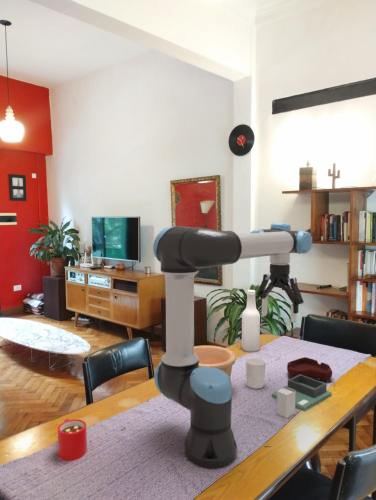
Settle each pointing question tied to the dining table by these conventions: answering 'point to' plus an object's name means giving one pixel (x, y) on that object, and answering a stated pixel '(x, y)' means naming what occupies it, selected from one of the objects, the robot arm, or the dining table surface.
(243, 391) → the dining table surface
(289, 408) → the plug
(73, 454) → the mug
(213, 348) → the pottery
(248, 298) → the alcohol
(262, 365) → the white cup
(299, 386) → the board
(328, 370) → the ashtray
